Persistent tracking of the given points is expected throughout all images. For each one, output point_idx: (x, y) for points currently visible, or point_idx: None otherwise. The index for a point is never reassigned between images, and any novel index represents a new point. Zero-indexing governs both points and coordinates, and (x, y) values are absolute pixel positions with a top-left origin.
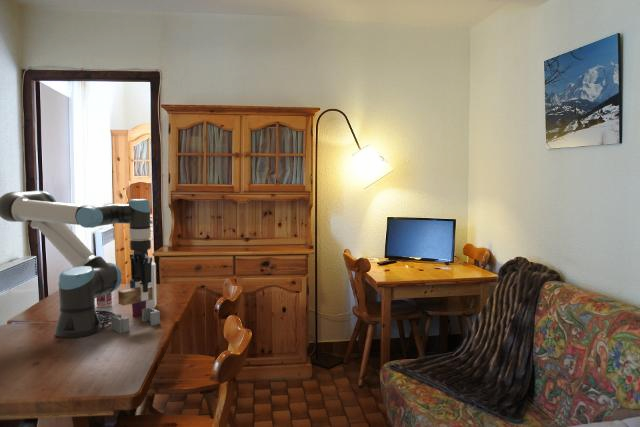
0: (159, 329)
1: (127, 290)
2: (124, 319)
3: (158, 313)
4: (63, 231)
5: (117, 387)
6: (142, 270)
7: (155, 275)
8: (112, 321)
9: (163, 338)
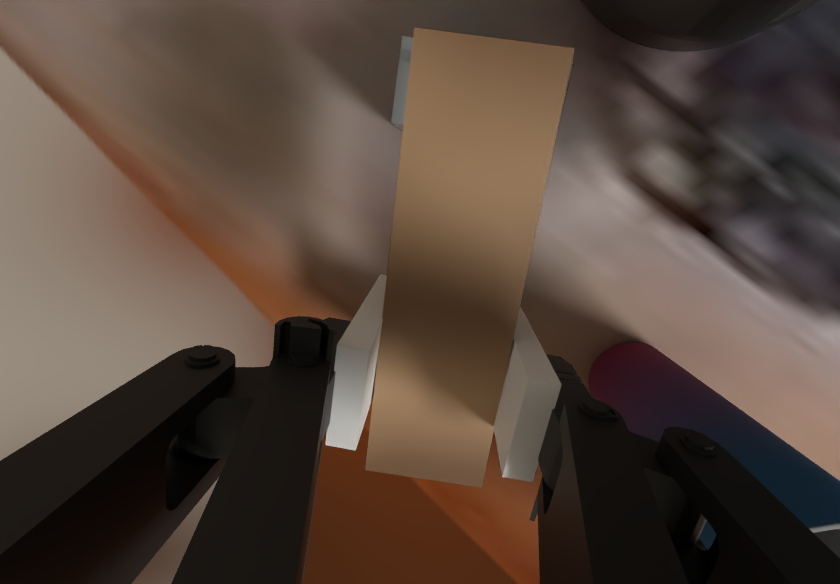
0: (283, 261)
1: (469, 160)
2: (397, 80)
3: None
4: None
5: None
6: (186, 577)
7: None
8: None
9: (121, 166)
